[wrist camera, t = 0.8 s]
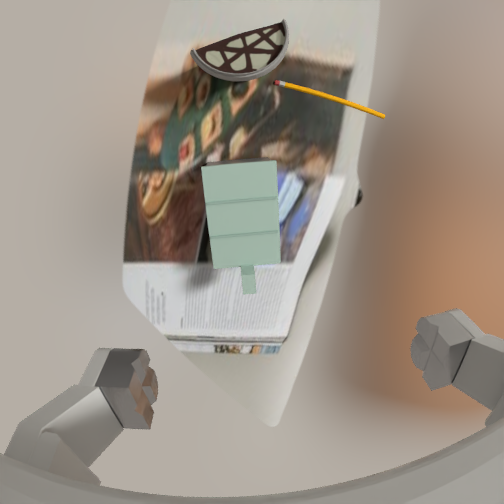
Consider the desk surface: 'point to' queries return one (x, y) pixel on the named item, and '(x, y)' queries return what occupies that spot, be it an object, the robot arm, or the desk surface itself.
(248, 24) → the desk surface
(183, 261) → the desk surface
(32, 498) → the robot arm
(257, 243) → the lid
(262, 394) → the desk surface
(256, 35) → the food container
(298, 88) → the pencil
